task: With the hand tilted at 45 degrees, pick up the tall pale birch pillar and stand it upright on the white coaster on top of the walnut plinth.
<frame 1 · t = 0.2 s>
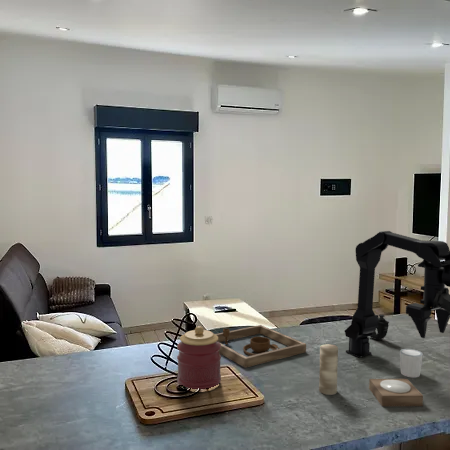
hand: (432, 335, 143), 15 cm above the counter, tool pointing down, fingers open, 9 cm apart
white short cylinder: (410, 374, 151), on the counter
walnut plinth: (394, 397, 135), on the counter
controller: (374, 338, 185), on the counter
oak tray rim: (253, 348, 173), on the counter
place setting: (253, 350, 174), on the counter
canister: (199, 384, 143), on the counter
birch pillar: (327, 391, 138), on the counter
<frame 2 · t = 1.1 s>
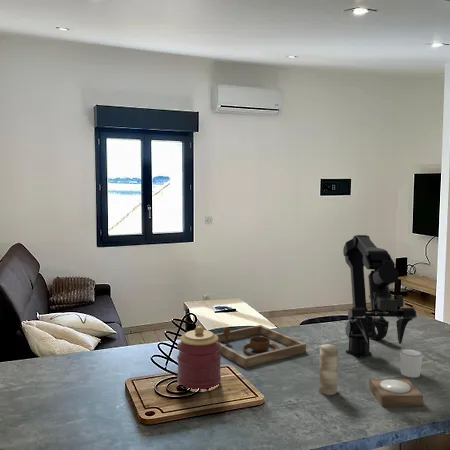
hand: (384, 343, 140), 13 cm above the counter, tool tilted 25°, fingers open, 9 cm apart
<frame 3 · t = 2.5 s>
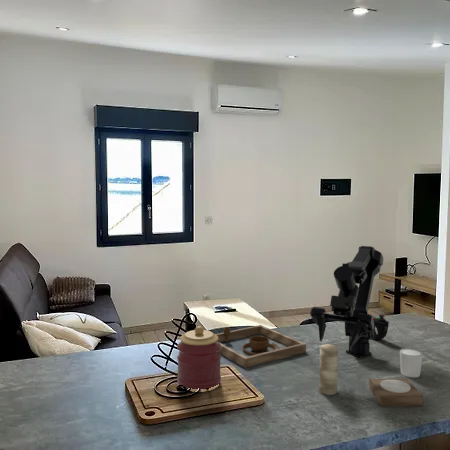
hand: (335, 343, 143), 12 cm above the counter, tool tilted 45°, fingers open, 9 cm apart
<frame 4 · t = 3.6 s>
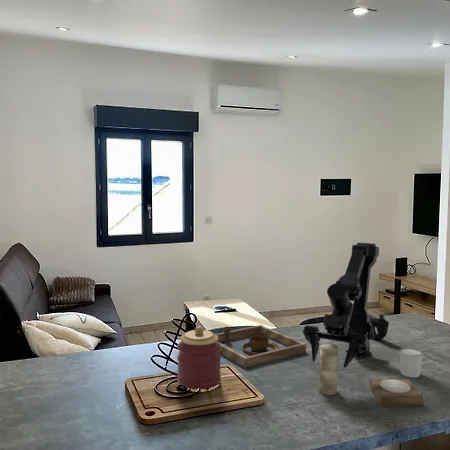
hand: (328, 364, 138), 8 cm above the counter, tool tilted 45°, fingers open, 9 cm apart
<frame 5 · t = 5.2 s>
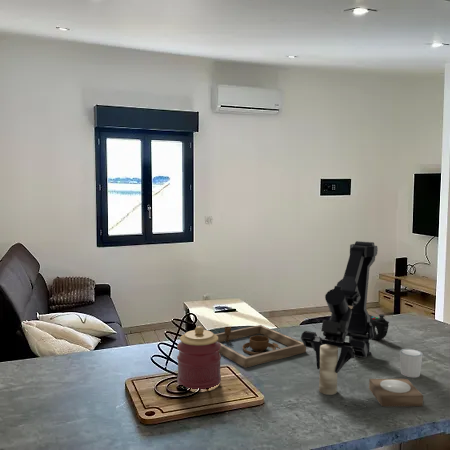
hand: (326, 370, 137), 7 cm above the counter, tool tilted 45°, fingers closed on birch pillar, 5 cm apart
birch pillar: (327, 391, 138), on the counter, touching gripper
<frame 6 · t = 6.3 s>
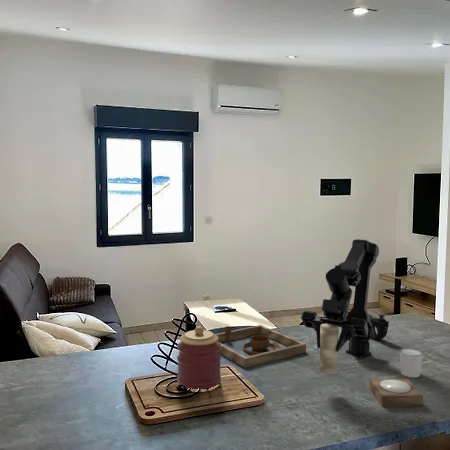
hand: (327, 349, 136), 13 cm above the counter, tool tilted 45°, fingers closed on birch pillar, 5 cm apart
birch pillar: (328, 370, 138), point 6 cm above the counter, touching gripper
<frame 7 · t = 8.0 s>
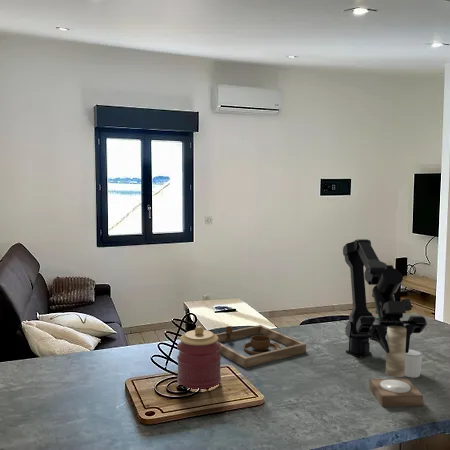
hand: (397, 352, 132), 13 cm above the counter, tool tilted 45°, fingers closed on birch pillar, 5 cm apart
birch pillar: (395, 373, 134), point 7 cm above the counter, touching gripper
when the fingers open (11 cm above the counter, at t = 9.2 s): birch pillar drops 1 cm, resting on walnut plinth.
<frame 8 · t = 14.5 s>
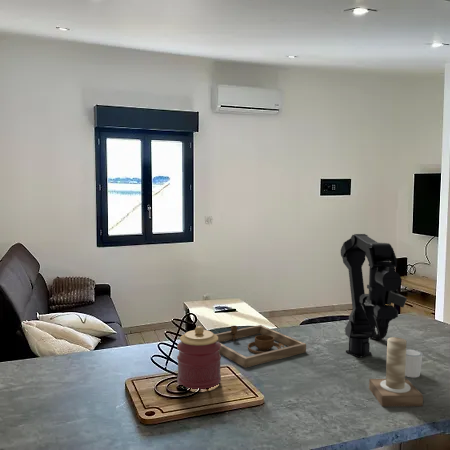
hand: (376, 331, 151), 13 cm above the counter, tool pointing down, fingers open, 9 cm apart
place setting: (259, 347, 176), on the counter
birch pillar: (395, 385, 134), point 3 cm above the counter, touching walnut plinth
everything else where it was.
at the end: birch pillar 0.0 cm off-centre on the walnut plinth, point 3.4 cm above the walnut plinth's base; birch pillar tilted 0°; the gripper is holding nothing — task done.
